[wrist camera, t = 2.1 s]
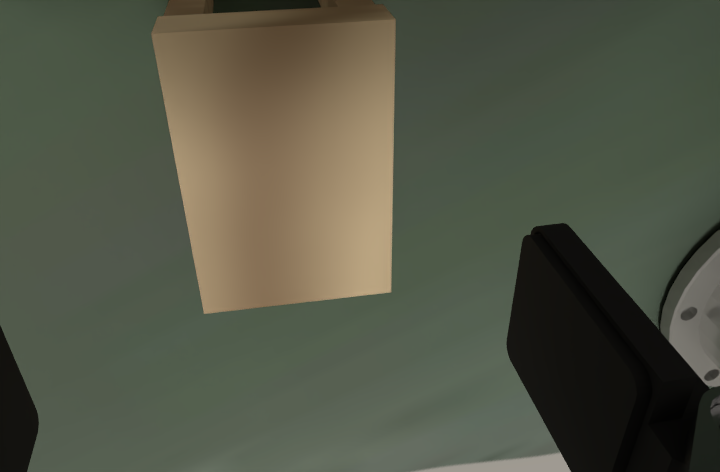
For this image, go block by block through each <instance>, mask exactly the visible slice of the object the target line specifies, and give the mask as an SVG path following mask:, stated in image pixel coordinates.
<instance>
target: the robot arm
mask: <svg viewBox="0 0 720 472" xmlns="http://www.w3.org/2000/svg"><path fill="white" fill-rule="evenodd" d="M660 329H661V332H660V331H659V329H658V328H657V327H656V326H655V325H654V324H653V323H652V321H651V320H650V319H649V318H648V317H647V316H646V314H645V313H644V312H643V311H642V310H641V309H640V307H639V306H638V305H637V304H636V303H635V302H634V301H633V299H632V298H631V297H630V296H629V295H628V294H627V292H625V290H624V289H623V288H622V287H621V286H620V285H619V283H618V282H617V281H616V280H615V279H614V278H613V276H612V275H611V274H610V273H609V272H608V271H607V269H606V268H605V267H604V266H603V265H602V264H601V262H600V261H599V260H598V259H597V258H596V257H595V256H594V254H593V253H592V252H591V251H590V250H589V249H588V247H587V246H586V245H585V244H584V243H583V242H582V240H581V239H580V238H579V237H578V236H577V235H576V233H575V232H574V231H573V230H572V229H571V228H570V227H569V226H568V225H567V224H564V223H560V224H552V225H544V226H536V227H534V228H533V230H532V231H531V235H526V236H525V237H524V238H523V242H522V247H521V254H520V260H519V266H518V273H517V279H516V285H515V292H514V298H513V304H512V311H511V317H510V323H509V330H508V336H507V351H508V355H509V358H510V360H511V362H512V364H513V366H514V368H515V370H516V371H517V373H518V375H519V377H520V379H521V381H522V382H523V384H524V386H525V388H526V390H527V392H528V393H529V395H530V397H531V399H532V401H533V403H534V404H535V406H536V408H537V410H538V412H539V414H540V415H541V417H542V419H543V421H544V423H545V425H546V426H547V428H548V430H549V432H550V434H551V436H552V437H553V439H554V441H555V443H556V445H557V447H558V448H559V450H560V452H561V454H562V456H563V458H564V459H565V461H566V463H567V465H568V467H569V469H570V470H571V472H720V230H718V231H717V232H716V233H714V234H713V235H712V236H711V237H710V238H709V239H708V240H707V241H706V242H705V243H704V244H703V245H702V246H701V247H700V248H699V249H698V250H697V251H696V252H695V253H694V255H693V256H692V257H691V258H690V260H689V261H688V262H687V263H686V265H685V266H684V267H683V269H682V270H681V271H680V273H679V275H678V277H677V278H676V280H675V282H674V283H673V285H672V287H671V289H670V291H669V293H668V296H667V299H666V301H665V304H664V307H663V311H662V317H661V324H660ZM708 386H712V387H713V388H711V389H709V387H708ZM38 425H39V422H38V413H37V410H36V408H35V405H34V403H33V401H32V398H31V396H30V394H29V391H28V389H27V387H26V384H25V382H24V380H23V377H22V375H21V373H20V370H19V368H18V366H17V364H16V361H15V359H14V357H13V354H12V352H11V350H10V347H9V345H8V343H7V340H6V338H5V336H4V333H3V331H2V329H1V326H0V472H27V469H28V466H29V462H30V458H31V455H32V451H33V448H34V444H35V440H36V437H37V433H38Z"/></svg>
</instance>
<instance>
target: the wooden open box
mask: <svg viewBox="0 0 720 472" xmlns="http://www.w3.org/2000/svg"><path fill="white" fill-rule="evenodd" d="M318 2H319V4H320V6H321V8H304V9H285V10H267V11H249V12H230V13H213V5H214V4H213V0H169V2H168V5H167V8H166V10H165V13H164V16H158V17H157V20H156V23H155V25H154V28H153V30H152V33H151V35H152V40H153V45H154V50H155V56H156V61H157V66H158V72H159V77H160V82H161V88H162V93H163V98H164V103H165V109H166V114H167V119H168V125H169V130H170V135H171V140H172V146H173V151H174V156H175V162H176V167H177V172H178V178H179V183H180V188H181V193H182V199H183V204H184V209H185V215H186V220H187V225H188V230H189V236H190V241H191V246H192V252H193V257H194V262H195V267H196V273H197V278H198V283H199V289H200V294H201V299H202V305H203V310H204V314H207V313H215V312H224V311H233V310H241V309H250V308H259V307H267V306H276V305H285V304H293V303H302V302H310V301H319V300H328V299H336V298H345V297H354V296H362V295H371V294H380V293H388V292H391V260H392V201H393V143H394V84H395V26H396V19H395V18H394V17H393V16H392V15H391V13H390V12H389V11H388V10H387V9H386V7H385V6H384V5H383V4H377V5H375V4H374V2H373V1H372V0H318Z"/></svg>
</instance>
